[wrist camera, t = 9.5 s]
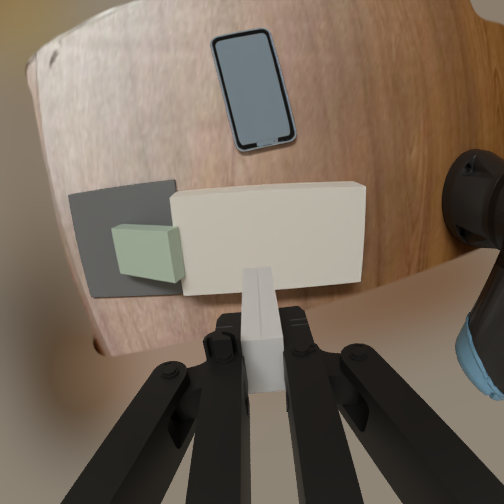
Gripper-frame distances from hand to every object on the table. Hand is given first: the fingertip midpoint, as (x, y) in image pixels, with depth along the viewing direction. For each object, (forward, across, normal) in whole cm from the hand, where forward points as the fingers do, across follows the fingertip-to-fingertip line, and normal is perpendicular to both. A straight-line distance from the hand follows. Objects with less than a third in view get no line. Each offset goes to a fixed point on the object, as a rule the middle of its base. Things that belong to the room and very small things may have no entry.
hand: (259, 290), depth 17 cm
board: (+22, -2, +3) cm, 22 cm away
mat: (+21, +17, +3) cm, 27 cm away
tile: (+19, +13, +3) cm, 23 cm away
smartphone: (+22, -1, -15) cm, 27 cm away
